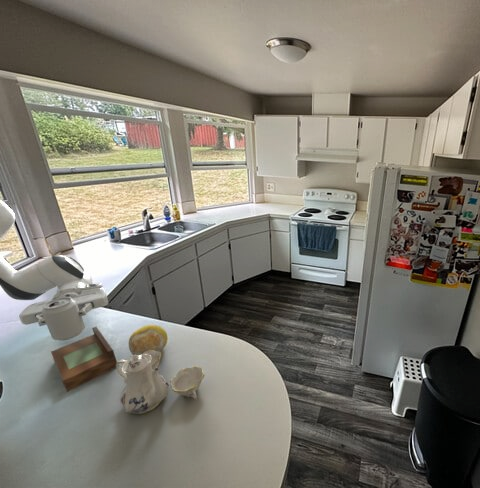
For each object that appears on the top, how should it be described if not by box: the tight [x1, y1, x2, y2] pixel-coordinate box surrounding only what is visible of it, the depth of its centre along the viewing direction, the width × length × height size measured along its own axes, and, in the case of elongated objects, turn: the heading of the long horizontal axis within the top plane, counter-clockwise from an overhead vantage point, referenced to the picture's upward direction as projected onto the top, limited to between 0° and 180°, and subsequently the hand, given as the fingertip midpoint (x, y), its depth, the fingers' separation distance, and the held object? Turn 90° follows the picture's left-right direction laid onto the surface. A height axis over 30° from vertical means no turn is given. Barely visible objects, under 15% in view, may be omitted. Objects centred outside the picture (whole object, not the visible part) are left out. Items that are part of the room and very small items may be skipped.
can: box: [41, 297, 86, 342], centre depth 77 cm, size 8×8×12 cm
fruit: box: [128, 324, 168, 356], centre depth 85 cm, size 10×11×10 cm
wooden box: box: [50, 326, 118, 392], centre depth 80 cm, size 12×18×7 cm, turn 53°
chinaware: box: [115, 350, 205, 416], centre depth 71 cm, size 28×17×17 cm, turn 74°
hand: (63, 318), depth 77 cm, fingers closed on can, 7 cm apart
